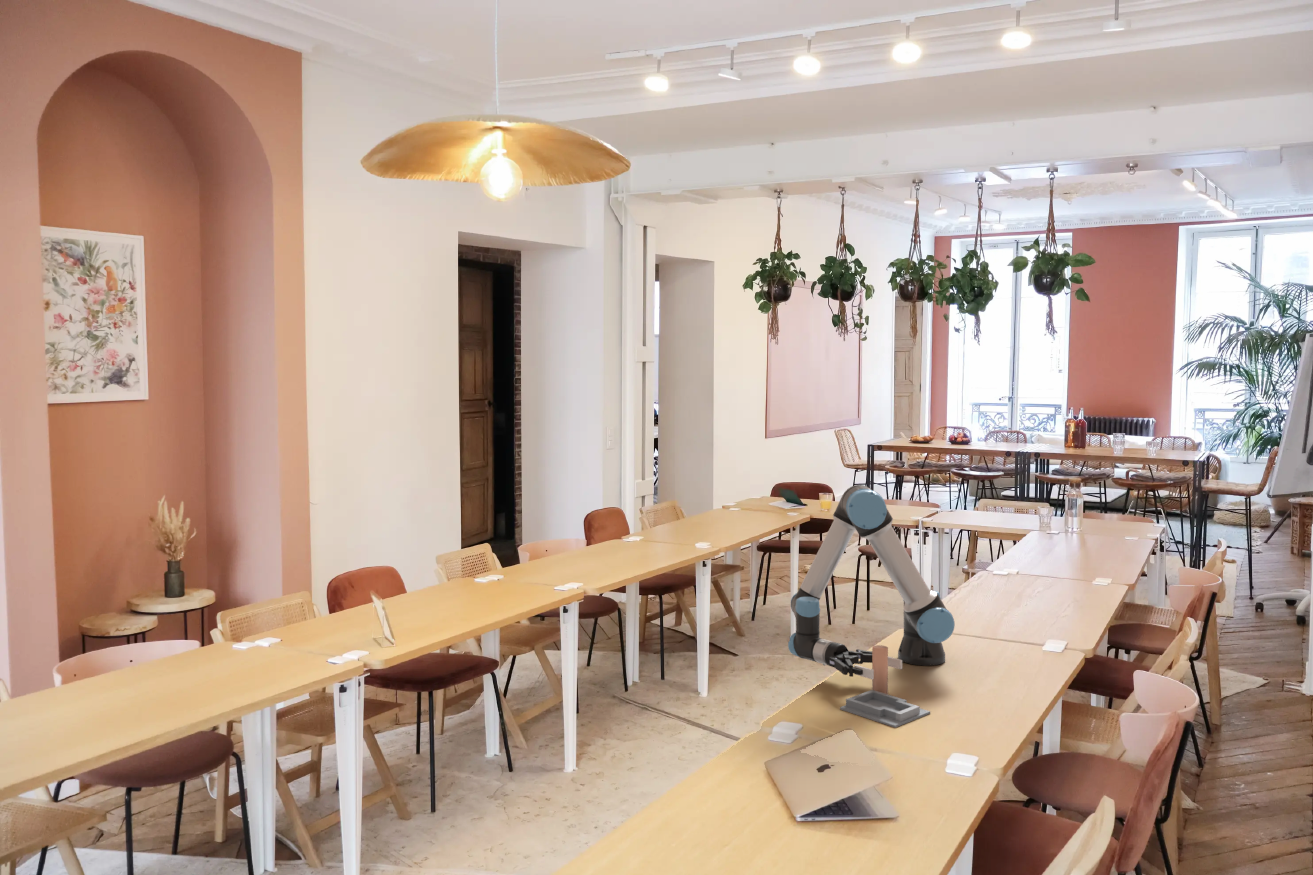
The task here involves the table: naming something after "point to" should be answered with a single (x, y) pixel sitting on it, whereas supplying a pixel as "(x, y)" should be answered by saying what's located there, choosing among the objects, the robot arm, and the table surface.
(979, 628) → the table surface
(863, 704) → the keyhole board
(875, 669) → the tall peach cylinder
